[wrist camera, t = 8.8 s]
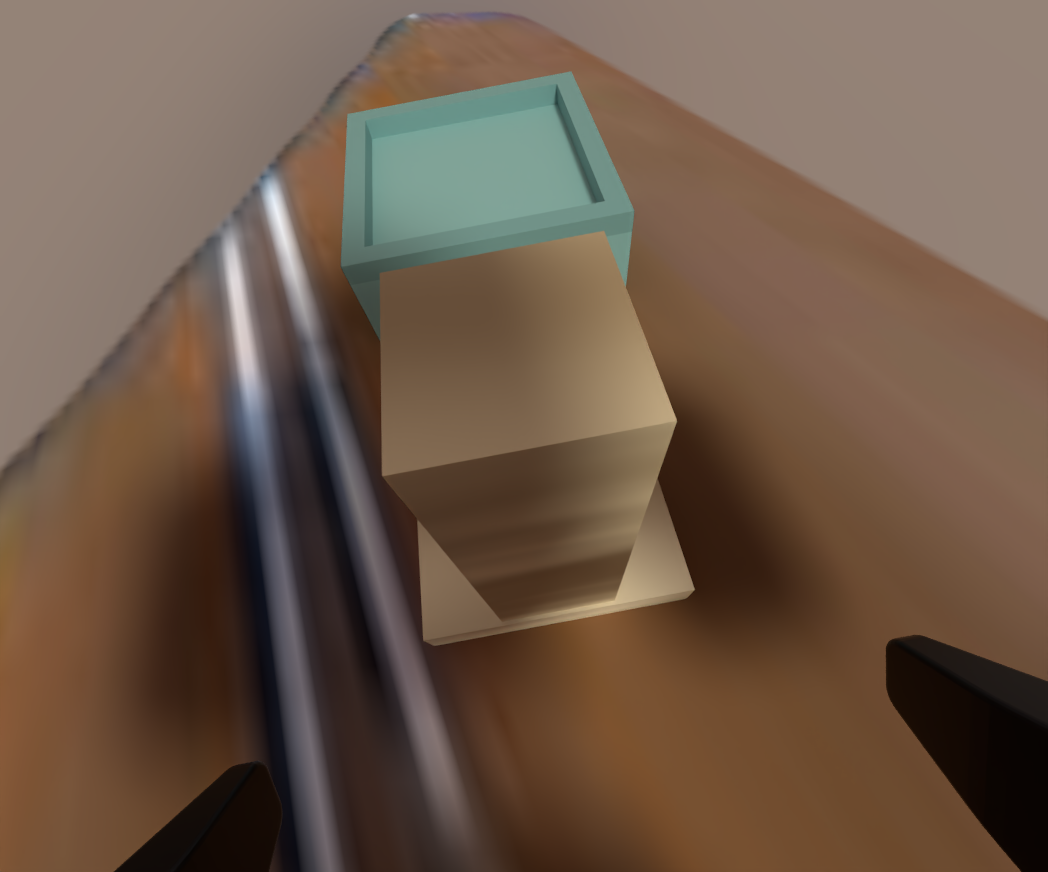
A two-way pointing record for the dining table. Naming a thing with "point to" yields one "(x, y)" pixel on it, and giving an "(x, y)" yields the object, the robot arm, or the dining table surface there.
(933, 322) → the dining table surface
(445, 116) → the teal square tray
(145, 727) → the dining table surface
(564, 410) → the tan boxy piece
